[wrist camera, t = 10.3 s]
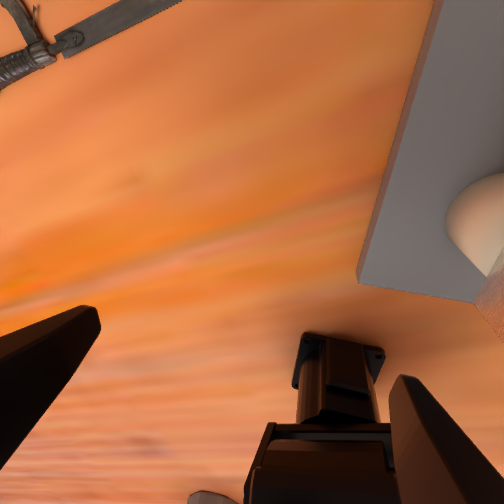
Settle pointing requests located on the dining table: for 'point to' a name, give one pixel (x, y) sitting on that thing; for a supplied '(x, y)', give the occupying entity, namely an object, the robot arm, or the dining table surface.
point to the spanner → (493, 297)
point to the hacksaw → (70, 34)
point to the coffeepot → (208, 498)
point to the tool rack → (445, 162)
